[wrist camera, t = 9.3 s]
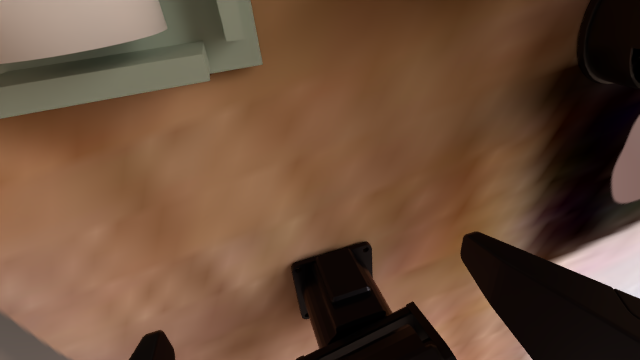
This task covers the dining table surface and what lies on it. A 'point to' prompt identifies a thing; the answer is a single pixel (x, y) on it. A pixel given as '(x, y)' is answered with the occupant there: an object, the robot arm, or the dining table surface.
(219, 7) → the holder
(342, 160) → the dining table surface
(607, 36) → the french press
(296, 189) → the dining table surface
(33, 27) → the roll
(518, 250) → the robot arm
